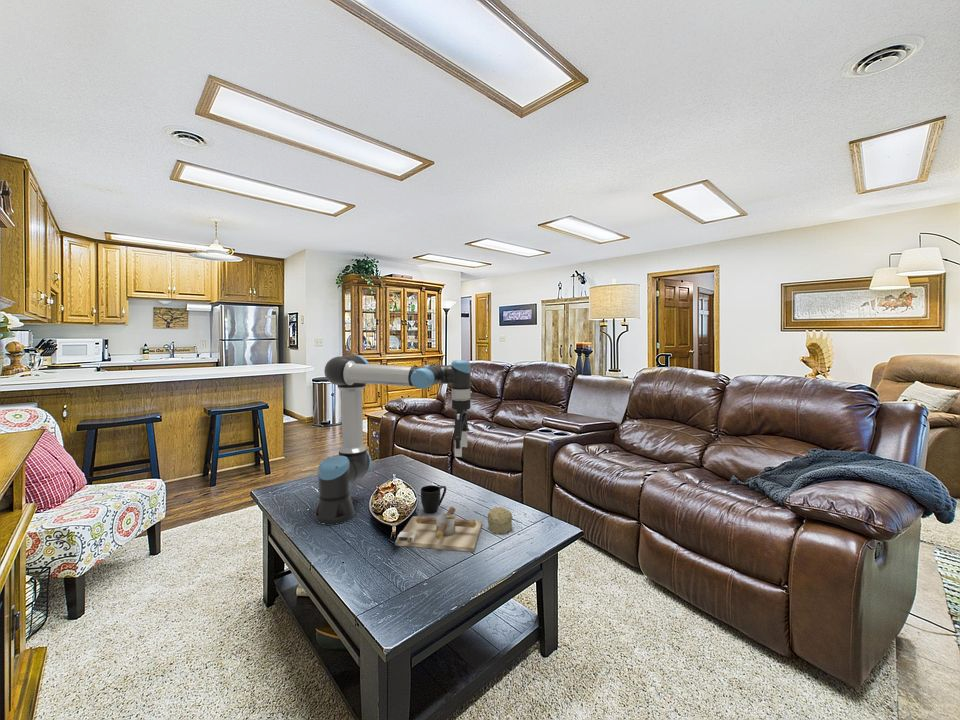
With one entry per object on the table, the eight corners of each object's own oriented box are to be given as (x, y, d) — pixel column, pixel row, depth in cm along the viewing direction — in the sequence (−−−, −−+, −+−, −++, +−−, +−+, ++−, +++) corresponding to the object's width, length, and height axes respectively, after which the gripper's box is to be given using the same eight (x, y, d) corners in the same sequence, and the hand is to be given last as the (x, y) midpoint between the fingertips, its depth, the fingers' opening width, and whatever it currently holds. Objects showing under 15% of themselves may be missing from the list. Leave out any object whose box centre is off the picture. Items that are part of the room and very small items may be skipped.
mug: (451, 509, 174) (451, 487, 174) (427, 517, 167) (427, 494, 166) (440, 502, 181) (440, 481, 180) (417, 510, 173) (416, 488, 172)
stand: (395, 545, 144) (394, 537, 144) (412, 519, 164) (412, 512, 164) (473, 552, 140) (473, 544, 140) (482, 525, 160) (482, 517, 160)
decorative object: (514, 538, 157) (516, 511, 162) (506, 533, 149) (509, 505, 154) (491, 535, 161) (494, 509, 166) (482, 531, 153) (485, 503, 158)
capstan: (406, 544, 142) (406, 528, 142) (424, 515, 164) (424, 501, 164) (470, 549, 139) (470, 533, 138) (480, 519, 161) (480, 505, 160)
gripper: (465, 404, 151) (465, 461, 153) (474, 394, 176) (474, 443, 177) (445, 404, 152) (445, 460, 153) (457, 394, 177) (457, 442, 178)
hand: (461, 451), depth 165 cm, fingers open, 13 cm apart
